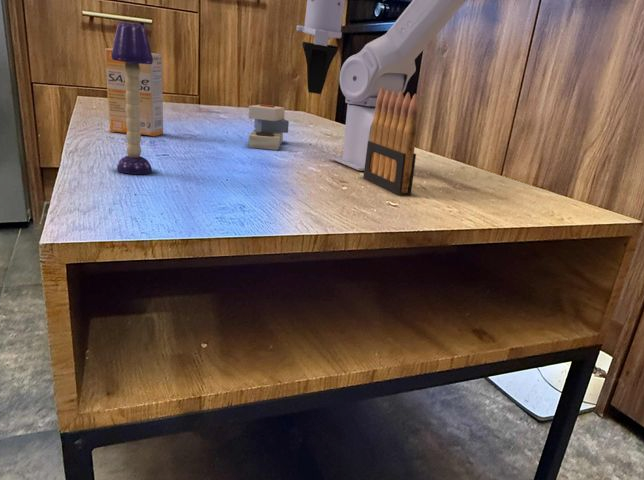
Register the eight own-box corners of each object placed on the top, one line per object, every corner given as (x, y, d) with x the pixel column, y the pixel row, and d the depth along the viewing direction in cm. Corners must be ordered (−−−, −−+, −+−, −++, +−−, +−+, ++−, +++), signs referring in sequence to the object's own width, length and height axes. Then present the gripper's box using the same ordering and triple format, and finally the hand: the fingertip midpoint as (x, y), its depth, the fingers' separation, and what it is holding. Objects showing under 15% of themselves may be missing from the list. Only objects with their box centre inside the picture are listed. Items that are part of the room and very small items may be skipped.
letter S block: (278, 150, 101) (278, 136, 100) (248, 147, 101) (249, 133, 100) (280, 146, 106) (280, 132, 105) (251, 143, 106) (252, 130, 105)
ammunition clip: (362, 177, 85) (373, 86, 80) (374, 178, 86) (385, 87, 80) (398, 195, 76) (412, 93, 71) (411, 195, 77) (426, 94, 72)
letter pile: (286, 146, 106) (288, 108, 103) (247, 142, 106) (248, 105, 103) (288, 141, 112) (290, 105, 110) (251, 137, 112) (252, 102, 109)
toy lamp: (149, 167, 79) (143, 24, 71) (162, 174, 76) (157, 25, 68) (113, 168, 76) (102, 20, 69) (124, 175, 73) (114, 21, 66)
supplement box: (108, 132, 104) (102, 47, 98) (121, 129, 108) (116, 48, 102) (153, 137, 103) (150, 52, 97) (164, 134, 107) (162, 52, 101)
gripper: (302, -6, 97) (292, 84, 103) (298, -10, 84) (287, 94, 91) (345, 1, 97) (332, 90, 104) (347, -1, 84) (333, 101, 91)
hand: (314, 92), depth 97 cm, fingers closed
